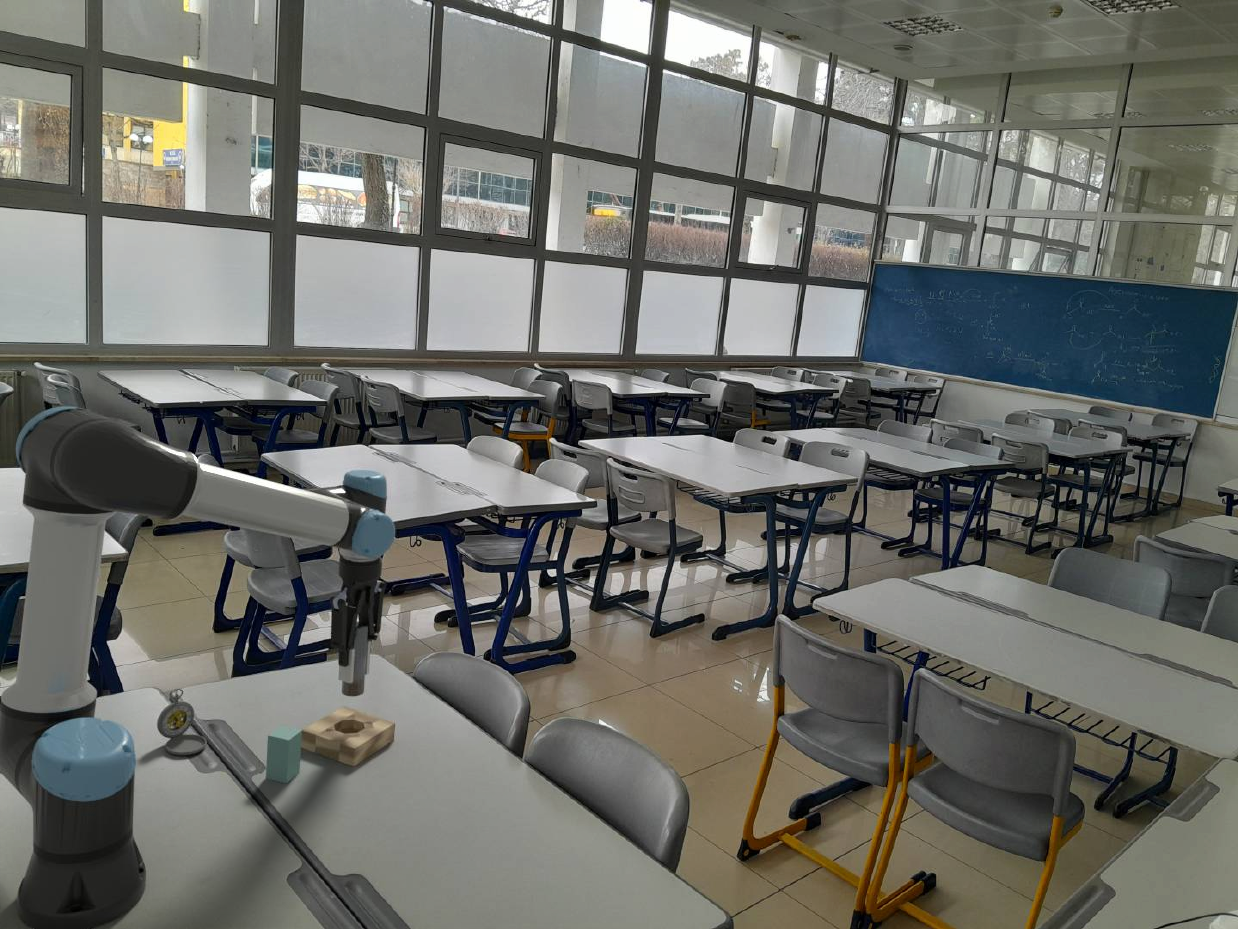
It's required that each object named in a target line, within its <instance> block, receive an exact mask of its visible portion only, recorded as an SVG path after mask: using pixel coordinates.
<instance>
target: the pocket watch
mask: <svg viewBox="0 0 1238 929" xmlns="http://www.w3.org/2000/svg"><path fill="white" fill-rule="evenodd" d="M175 691H180V692H181V694H178V693H176V694H175V696H174V697H173V696H172V694H173V693H174V692H175ZM183 695H184V690H183V689H181V688H175V689H173V690H172V691H171V692H169V698H170V699H172V700H174V702H172V703H170V704H169V705H167V706H166V707H164V709H163V710H162V711H161V712H160V714H159V715H158V719H157V721H156V727H157V731H158V732H159V734H160V735H161V736H162V737H164V738H166V739H167V738H168V739H169V740H168V741H166V744H165V750H166V752H168V753H170V754H172V755H175V756H189V755H193V754H194V755H195V754H197V753H199V752H201V751H202V750H204V749H205V747H207V743H208V742H207V738H205V737H204V736H201V735H199V734H193V733H191V734H184V733H185V732H187V731H188V730H189V728H191V726H192V723H193V721H194V718H195V710H194V707H193V706H192V705H191V703H189V702H187V701H182V700H181V701H180V699H181V698H182V696H183Z"/></svg>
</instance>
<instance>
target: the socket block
mask: <svg viewBox="0 0 1238 929" xmlns="http://www.w3.org/2000/svg"><path fill="white" fill-rule="evenodd" d="M301 730H302V738H301V749H304V750H307V751H309V752H312V753H315V754H318V755H321V756H324V757H326V758H328V759H329V758H330V759H331V760H334V761H337V762H340V763H342V764H346V765H348V766H351V767H356V766H357V765H358V764H360V763H361V762H363V761H364V760H366V759H367V758H369V757H370V756H372V755H373V754H375V753H376V752H378V751H380V750H381V749H382V748H384V747H386V746H387V745H389V744H390V743H392V742H394V740H395V730H396V722H393V721H390V720H387V719H384V718H381V717H377V716H374V715H372V714H369V713H366V712H363V711H361V710H357V709H354V708H350V707H348V706H342V707H340V708H338V709H336V710H335V711H333V712H332V713H330V714H328V715H326V716H324V717H322V718H321V719H319V720H317V721H315V722H313V723H311V724H310V725H308V726H306V727H304V728H303V729H301ZM388 743H389V744H388Z"/></svg>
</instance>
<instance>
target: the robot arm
mask: <svg viewBox="0 0 1238 929" xmlns="http://www.w3.org/2000/svg"><path fill="white" fill-rule="evenodd" d="M15 454H16V455H15V456H16V459H17V462H18V464H19V467H20V470H22V472H23V473H24V474H25V476H24V477H25V478H24V485H23V495H22V496H23V497H22V506H23V507H24V508H25V509H26V510H28V512H29V513H30V514H31V515H32V516H33V524H32V525H33V526H32V535H31V541H30V542H31V544H30V554H29V562H28V571H27V578H26V579H27V580H26V588H25V596H24V598H25V599H24V606H23V615H22V622H21V633H20V642H19V649H18V659H17V667H16V668H17V669H16V678H15V681H14V683H13V684H11V685H9V687H7V688H5V689H4V690H3V691H2V693H1V696H0V774H1V775H2V776H3V777H4V778H5V779H6V780H7V781H8V782H9V783H10V784H11V786H13V788H14V789H15V790H16V791H17V792H18V793H19V794H20V795H21V796H22V797H23V799H24V800H26V802H27V803H28V804H29V806H31V809H32V815H33V816H32V824H33V825H32V830H33V831H32V832H33V834H32V839H33V841H32V847H33V848H32V849H33V850H32V854H31V856H30V859H29V862H28V865H27V868H26V872H25V874H24V877H23V879H22V880H21V882H20V884H19V886H18V890H17V896H16V897H17V899H16V900H17V902H16V903H17V906H16V909H17V915H18V917H19V919H20V920H21V922H23V923H24V924H25V925H27V926H28V927H31V928H33V929H90V928H94V927H97V926H100V925H103V924H106V923H108V922H111V921H113V920H114V919H116V918H118V917H121V916H122V915H123V914H125V913H126V912H128V911H129V910H130V909H131V908H133V907H135V905H136V904H137V903H138V901H139V900H140V899H141V898H142V897H143V895H144V892H145V891H146V884H147V883H146V881H147V871H146V870H147V869H146V864H145V862H144V859H143V857H142V854H141V852H140V850H139V847H138V844H137V842H136V840H135V836H134V804H135V801H134V800H135V799H134V798H135V777H136V776H135V774H136V765H137V754H136V751H135V742H134V739H133V736H132V735H131V733H130V732H129V729H127V728H126V727H125V726H123V725H122V724H120V723H118V722H115V721H113V720H111V719H106V720H102V719H101V718H99V717H95V714H96V706H97V696H98V690H97V689H96V688H95V687H94V686H93V685H92V684H91V683H90V682H88V681H87V678H88V670H89V664H90V655H91V654H90V653H91V646H92V638H93V631H94V620H95V614H96V613H95V612H96V603H97V596H98V588H99V579H100V571H101V564H102V555H103V549H104V548H103V546H104V541H105V540H104V538H105V530H106V522H107V520H109V519H110V518H112V517H113V516H114V515H115V514H117V513H123V514H129V515H130V514H132V515H137V516H138V515H139V516H143V517H151V518H156V519H157V518H158V519H163V520H168V521H174V520H177V519H178V518H180V517H182V516H184V517H185V516H186V517H191V518H194V519H199V520H203V521H210V522H214V523H218V524H223V525H227V526H233V527H238V528H242V529H247V530H253V531H257V532H262V533H267V534H271V535H275V536H281V537H284V538H285V537H287V538H291V539H294V540H295V539H296V540H301V541H305V542H310V543H314V544H318V545H325V546H328V547H331V548H334V549H335V548H336V549H339V550H338V551H339V552H338V553H339V554H340V556H339V559H338V560H339V561H338V576H339V578H341V580H342V585H341V587H340V593H339V594H338V595H337V596H334V595H333V596H331V597H330V598H329V604H330V609H331V612H330V613H331V615H330V625H331V626H330V647H331V648H335V649H337V650H338V662H337V663H338V681H344V682H347V683H352V682H353V673H354V657H355V649H354V648H352V644H353V639H354V633H355V628H356V622H363V623H366V624H367V625H368V636H367V652H366V668H365V676H366V675H369V674H370V664H371V663H370V662H371V653H372V642H373V641H376V640H378V638H379V637H378V636H379V635H377V634H379V633H380V632H381V626H382V617H383V616H382V615H383V604H384V595H385V591H386V588H387V582H384V581H381V580H379V579H380V578H381V576H382V569H383V568H382V567H383V558H382V556H383V555H385V554H386V553H387V552H388V551H389V549H390V548H391V547H392V546H393V543H394V541H395V537H396V526H395V523H394V521H393V519H392V518H391V517H390V516H389V515H387V514H386V510H387V509H386V508H387V500H388V495H387V494H388V493H387V491H388V488H387V487H388V486H387V478H386V476H385V475H384V474H383V473H381V472H379V471H375V470H368V469H367V470H366V469H353V470H350V471H347V472H346V473H345V474H344V475H343V481H342V484H339V485H337V486H336V485H335V486H328V487H327V486H326V487H316V488H308V489H304V488H297V487H294V486H289V485H285V484H282V483H279V482H276V481H271V480H268V479H263V478H259V477H257V476H253V475H249V474H245V473H242V472H238V471H233V470H230V469H227V468H223V467H219V466H215V465H211V464H207V463H204V462H200V461H198V458H197V457H196V455H195V454H194V453H192V452H191V451H187V450H185V449H180V448H177V447H175V446H171V445H168V444H167V443H164V442H163V441H162V442H161V441H160V440H158V439H154V438H153V437H150V436H149V435H146V434H145V433H143V432H140V431H139V430H137V429H135V428H133V427H131V426H130V425H127V424H125V423H121V422H119V421H116V420H114V419H112V418H109V417H106V416H104V415H102V414H101V413H99V412H97V411H95V410H93V409H87V408H81V407H76V406H70V405H69V406H64V405H63V406H57V407H52V408H49V409H46V410H44V411H41V412H39V413H38V414H36V415H35V416H34V417H32V418H30V420H28V421H27V423H25V425H24V426H23V427H22V428H21V431H20V432H19V435H18V437H17V440H16V443H15Z"/></svg>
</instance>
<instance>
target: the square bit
mask: <svg viewBox="0 0 1238 929" xmlns="http://www.w3.org/2000/svg"><path fill="white" fill-rule="evenodd" d="M302 730H303V729H298V728H295V727H289V726H286V725H280V726H279V727H277V728H275V730H273V731H272V732H270V733H269V734H268V735H267V750H266V763H265V764H266V766H265V767H266V770H265V779H267V780H271V781H276V782H278V783H279V782H280V783H283V784H287V783H289V782H291V780H293V778H295V777H296V776H297V775H298V774H299V773H300V770H301V769H300V768H301V755H302V754H301V752H302V748H301V738H302Z"/></svg>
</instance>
